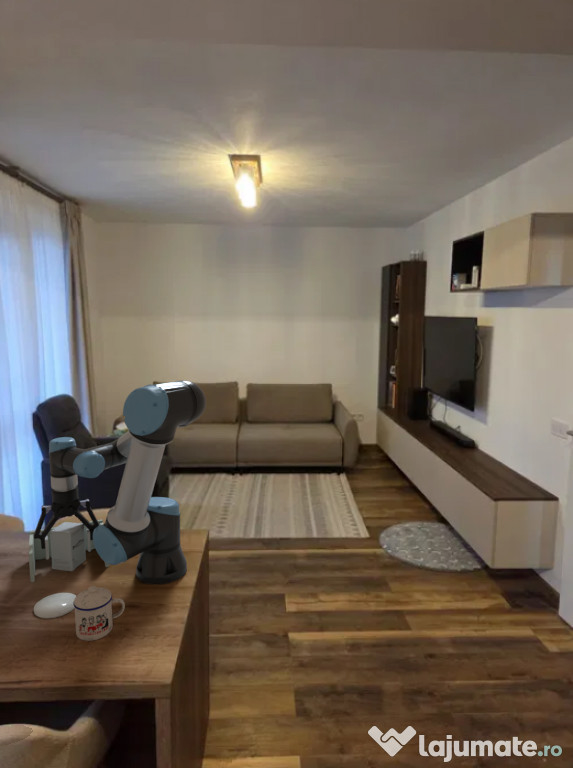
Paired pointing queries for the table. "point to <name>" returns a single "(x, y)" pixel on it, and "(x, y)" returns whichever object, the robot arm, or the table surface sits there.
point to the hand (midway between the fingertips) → (68, 553)
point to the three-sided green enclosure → (40, 553)
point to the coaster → (55, 605)
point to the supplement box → (68, 546)
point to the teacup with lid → (95, 613)
